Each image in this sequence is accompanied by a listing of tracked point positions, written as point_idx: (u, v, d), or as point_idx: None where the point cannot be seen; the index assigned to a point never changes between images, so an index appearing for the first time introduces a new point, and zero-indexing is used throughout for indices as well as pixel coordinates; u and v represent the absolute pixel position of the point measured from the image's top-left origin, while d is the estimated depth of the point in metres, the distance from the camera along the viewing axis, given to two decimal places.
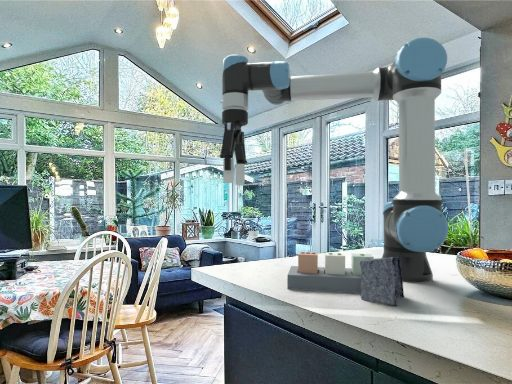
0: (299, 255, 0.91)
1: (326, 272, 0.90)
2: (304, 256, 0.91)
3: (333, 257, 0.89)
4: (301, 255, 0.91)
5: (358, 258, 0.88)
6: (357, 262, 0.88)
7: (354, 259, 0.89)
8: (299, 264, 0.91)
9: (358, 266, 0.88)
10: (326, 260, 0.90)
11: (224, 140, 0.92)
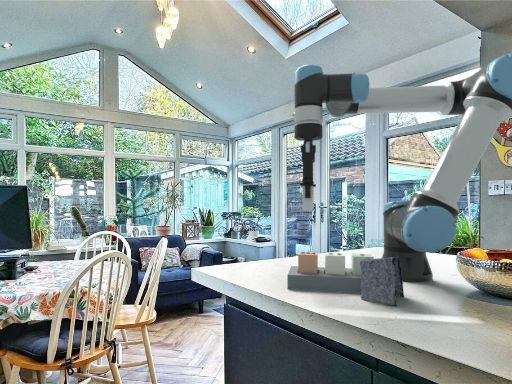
0: (299, 255, 0.91)
1: (326, 272, 0.90)
2: (304, 256, 0.91)
3: (333, 257, 0.89)
4: (301, 255, 0.91)
5: (358, 258, 0.88)
6: (357, 262, 0.88)
7: (354, 259, 0.89)
8: (299, 264, 0.91)
9: (358, 266, 0.88)
10: (326, 260, 0.90)
11: (304, 166, 0.88)
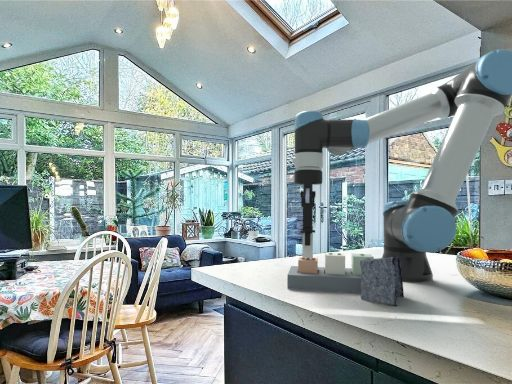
0: (299, 261, 0.91)
1: (326, 272, 0.90)
2: (304, 262, 0.91)
3: (333, 257, 0.89)
4: (301, 261, 0.91)
5: (358, 258, 0.88)
6: (357, 262, 0.88)
7: (354, 259, 0.89)
8: (299, 270, 0.91)
9: (358, 266, 0.88)
10: (326, 260, 0.90)
11: (304, 216, 0.89)
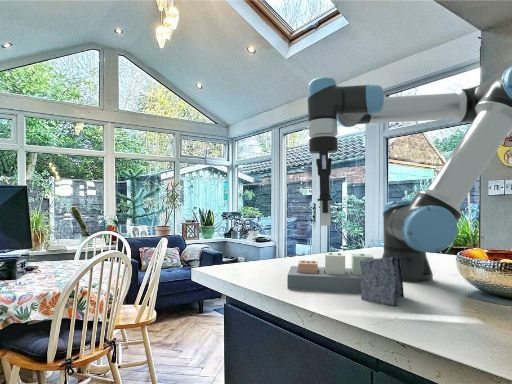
0: (299, 264, 0.91)
1: (326, 272, 0.90)
2: (304, 265, 0.91)
3: (333, 257, 0.89)
4: (301, 264, 0.91)
5: (358, 258, 0.88)
6: (357, 262, 0.88)
7: (354, 259, 0.89)
8: None
9: (358, 266, 0.88)
10: (326, 260, 0.90)
11: (321, 183, 0.89)
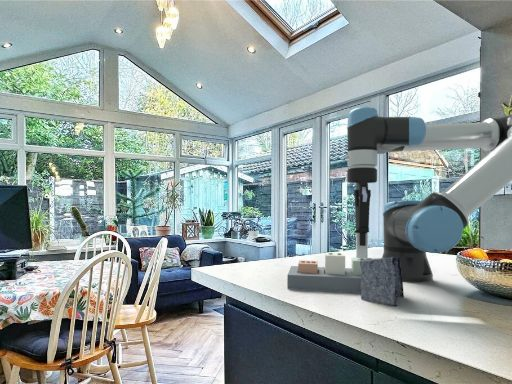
0: (299, 264, 0.91)
1: (326, 272, 0.90)
2: (304, 265, 0.91)
3: (333, 257, 0.89)
4: (301, 264, 0.91)
5: (358, 262, 0.88)
6: (357, 266, 0.88)
7: (354, 263, 0.89)
8: None
9: (358, 270, 0.88)
10: (326, 260, 0.90)
11: (360, 215, 0.87)
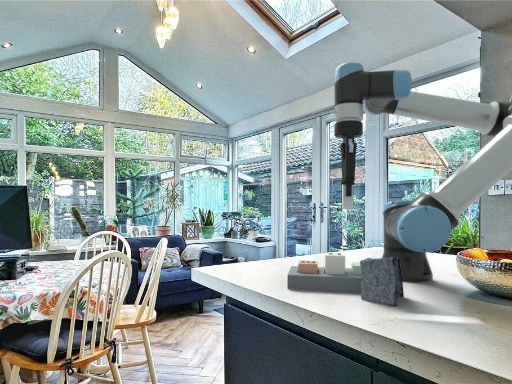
0: (299, 264, 0.91)
1: (326, 272, 0.90)
2: (304, 265, 0.91)
3: (333, 257, 0.89)
4: (301, 264, 0.91)
5: (358, 267, 0.88)
6: (357, 271, 0.88)
7: (354, 268, 0.88)
8: None
9: None
10: (326, 260, 0.90)
11: (347, 166, 0.90)
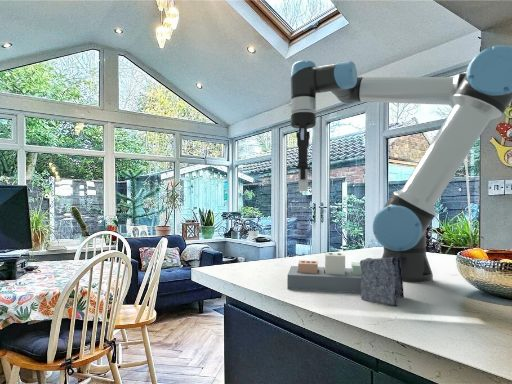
0: (299, 264, 0.91)
1: (326, 272, 0.90)
2: (304, 265, 0.91)
3: (333, 257, 0.89)
4: (301, 264, 0.91)
5: (358, 267, 0.88)
6: (357, 271, 0.88)
7: (354, 268, 0.88)
8: None
9: None
10: (326, 260, 0.90)
11: (299, 152, 1.02)
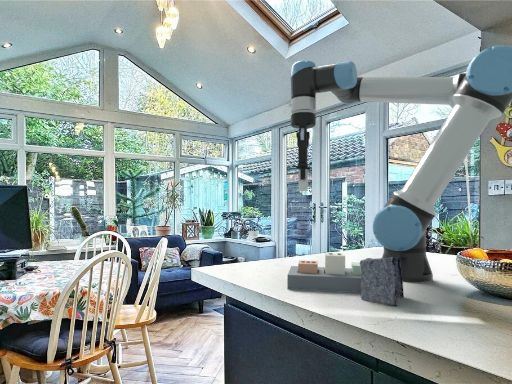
0: (299, 264, 0.91)
1: (326, 272, 0.90)
2: (304, 265, 0.91)
3: (333, 257, 0.89)
4: (301, 264, 0.91)
5: (358, 267, 0.88)
6: (357, 271, 0.88)
7: (354, 268, 0.88)
8: None
9: None
10: (326, 260, 0.90)
11: (299, 152, 1.02)
